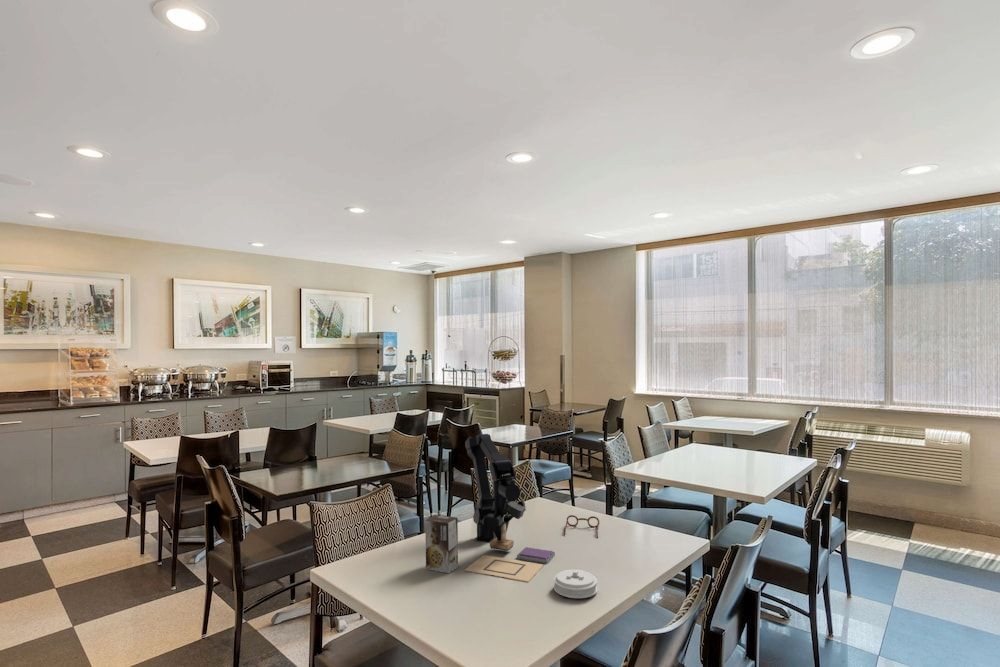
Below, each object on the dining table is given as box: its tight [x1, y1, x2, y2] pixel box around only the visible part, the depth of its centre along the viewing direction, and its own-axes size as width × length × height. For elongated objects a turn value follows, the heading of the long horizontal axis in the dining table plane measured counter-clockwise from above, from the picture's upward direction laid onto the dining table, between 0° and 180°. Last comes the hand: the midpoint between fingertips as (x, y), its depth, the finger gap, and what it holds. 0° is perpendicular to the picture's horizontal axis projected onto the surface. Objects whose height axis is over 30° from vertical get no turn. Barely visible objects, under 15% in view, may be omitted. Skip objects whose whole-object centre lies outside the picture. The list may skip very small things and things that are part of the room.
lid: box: [553, 569, 598, 599], centre depth 157 cm, size 13×13×5 cm
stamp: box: [489, 524, 515, 552], centre depth 189 cm, size 7×5×8 cm
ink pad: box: [516, 547, 556, 564], centre depth 183 cm, size 11×8×2 cm
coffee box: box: [424, 514, 459, 574], centre depth 175 cm, size 9×6×16 cm
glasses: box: [563, 514, 600, 539], centre depth 209 cm, size 13×13×5 cm
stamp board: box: [464, 554, 545, 583], centre depth 174 cm, size 22×14×1 cm, turn 66°
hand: (501, 538), depth 189 cm, fingers closed on stamp, 3 cm apart
